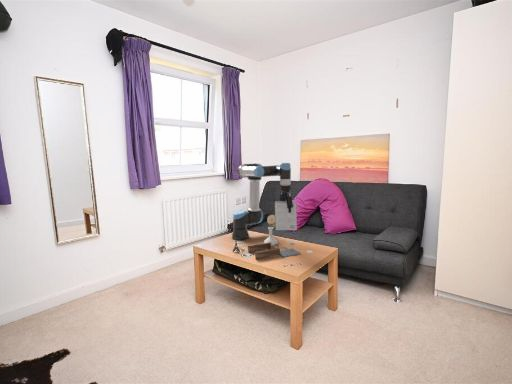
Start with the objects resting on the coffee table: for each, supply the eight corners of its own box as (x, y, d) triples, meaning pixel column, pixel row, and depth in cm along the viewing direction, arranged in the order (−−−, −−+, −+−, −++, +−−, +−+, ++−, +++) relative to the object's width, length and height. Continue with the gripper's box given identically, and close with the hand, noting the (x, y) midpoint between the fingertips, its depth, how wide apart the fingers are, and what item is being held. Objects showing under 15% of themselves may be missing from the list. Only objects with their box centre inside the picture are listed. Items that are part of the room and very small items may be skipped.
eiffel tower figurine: (234, 256, 196) (234, 238, 195) (224, 253, 203) (224, 236, 201) (248, 250, 208) (247, 233, 206) (238, 248, 214) (237, 231, 213)
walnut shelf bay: (248, 252, 203) (247, 245, 202) (270, 248, 209) (270, 242, 209) (256, 259, 187) (255, 252, 187) (280, 255, 194) (279, 248, 193)
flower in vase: (261, 243, 221) (260, 213, 218) (271, 241, 228) (271, 211, 224) (271, 248, 210) (270, 216, 207) (282, 244, 217) (281, 214, 214)
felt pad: (276, 251, 202) (276, 251, 202) (292, 249, 207) (292, 248, 207) (283, 257, 191) (283, 256, 191) (300, 254, 196) (300, 253, 196)
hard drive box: (296, 227, 199) (296, 200, 196) (297, 230, 191) (296, 202, 189) (275, 227, 201) (274, 200, 198) (275, 230, 193) (274, 202, 190)
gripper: (274, 183, 201) (274, 213, 204) (287, 186, 180) (288, 219, 183) (283, 183, 204) (283, 212, 206) (297, 185, 183) (298, 218, 186)
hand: (285, 215), depth 195 cm, fingers closed on hard drive box, 10 cm apart
